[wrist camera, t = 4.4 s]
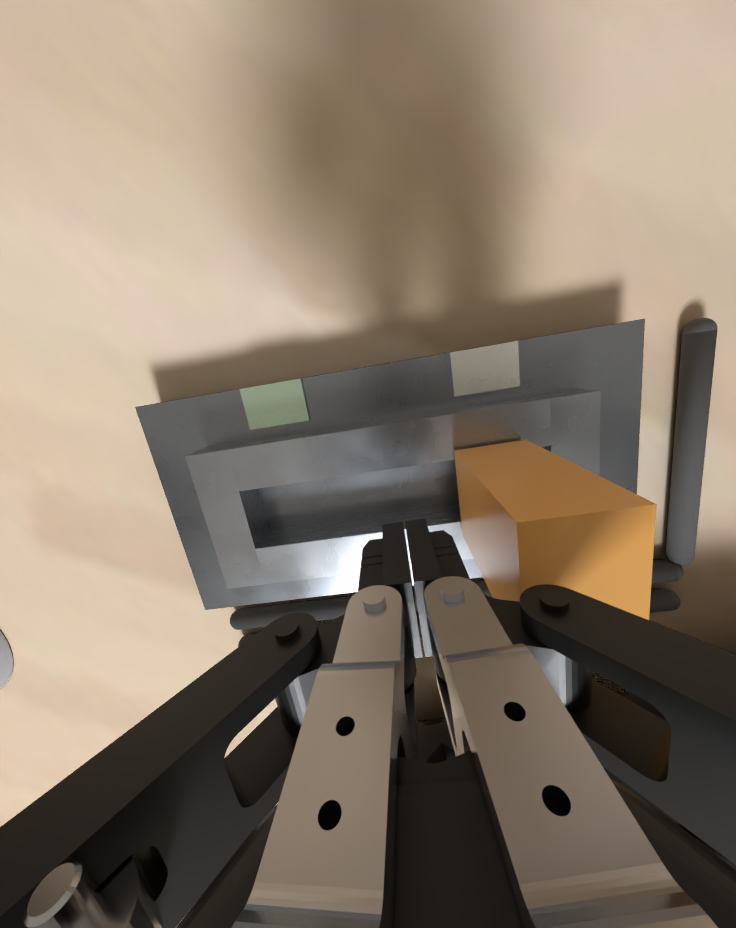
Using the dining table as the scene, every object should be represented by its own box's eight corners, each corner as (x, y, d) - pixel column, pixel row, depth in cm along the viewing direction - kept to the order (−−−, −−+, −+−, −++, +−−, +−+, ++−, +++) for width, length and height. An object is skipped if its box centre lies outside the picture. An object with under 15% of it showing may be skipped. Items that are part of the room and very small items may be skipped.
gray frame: (702, 317, 16) (726, 314, 15) (677, 599, 21) (694, 612, 20) (169, 409, 19) (155, 411, 18) (245, 645, 23) (238, 660, 22)
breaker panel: (614, 324, 17) (684, 311, 13) (609, 540, 20) (663, 582, 16) (160, 403, 19) (103, 412, 15) (220, 588, 22) (186, 635, 18)
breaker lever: (508, 430, 16) (656, 504, 7) (512, 507, 17) (646, 651, 8) (445, 440, 16) (517, 522, 8) (453, 515, 17) (524, 663, 9)
